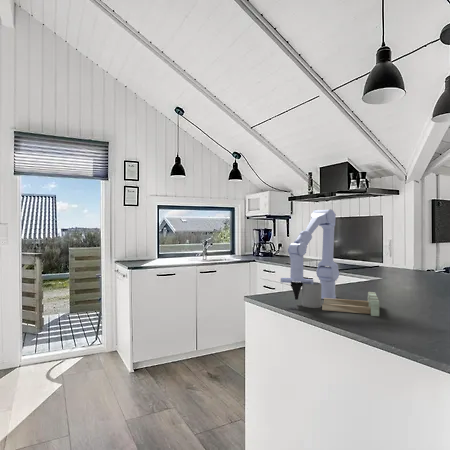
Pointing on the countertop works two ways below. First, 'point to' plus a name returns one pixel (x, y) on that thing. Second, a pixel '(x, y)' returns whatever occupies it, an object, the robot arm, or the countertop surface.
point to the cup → (311, 295)
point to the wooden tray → (353, 305)
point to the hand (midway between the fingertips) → (296, 299)
